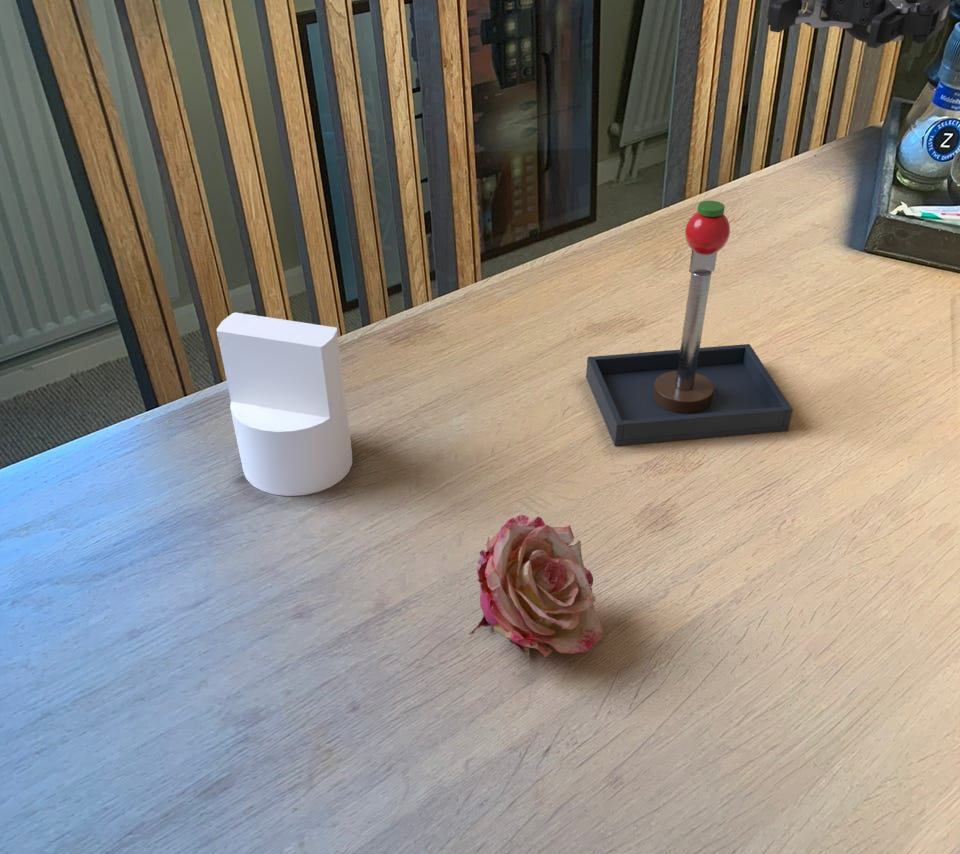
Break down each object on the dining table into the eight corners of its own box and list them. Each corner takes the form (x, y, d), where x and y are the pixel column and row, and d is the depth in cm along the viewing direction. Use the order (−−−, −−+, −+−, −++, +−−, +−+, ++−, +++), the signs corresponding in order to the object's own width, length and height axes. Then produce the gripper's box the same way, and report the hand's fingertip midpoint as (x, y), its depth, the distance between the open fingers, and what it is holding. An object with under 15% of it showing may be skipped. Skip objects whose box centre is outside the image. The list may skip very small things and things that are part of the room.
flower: (422, 635, 68) (480, 591, 61) (467, 532, 72) (525, 480, 66) (540, 706, 70) (607, 671, 64) (575, 602, 75) (641, 559, 69)
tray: (745, 364, 96) (749, 343, 94) (788, 430, 88) (793, 409, 86) (585, 377, 94) (587, 356, 93) (614, 446, 86) (616, 424, 85)
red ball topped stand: (702, 379, 93) (733, 190, 81) (720, 410, 89) (755, 217, 77) (646, 384, 92) (669, 194, 80) (661, 416, 89) (688, 221, 77)
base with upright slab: (223, 485, 83) (193, 349, 74) (272, 425, 89) (249, 294, 80) (326, 504, 81) (307, 368, 72) (368, 442, 87) (355, 309, 78)
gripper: (830, -72, 94) (751, -39, 85) (988, -54, 88) (922, -16, 79) (812, 21, 99) (736, 62, 90) (961, 44, 93) (895, 91, 84)
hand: (823, 25), depth 84 cm, fingers open, 8 cm apart
